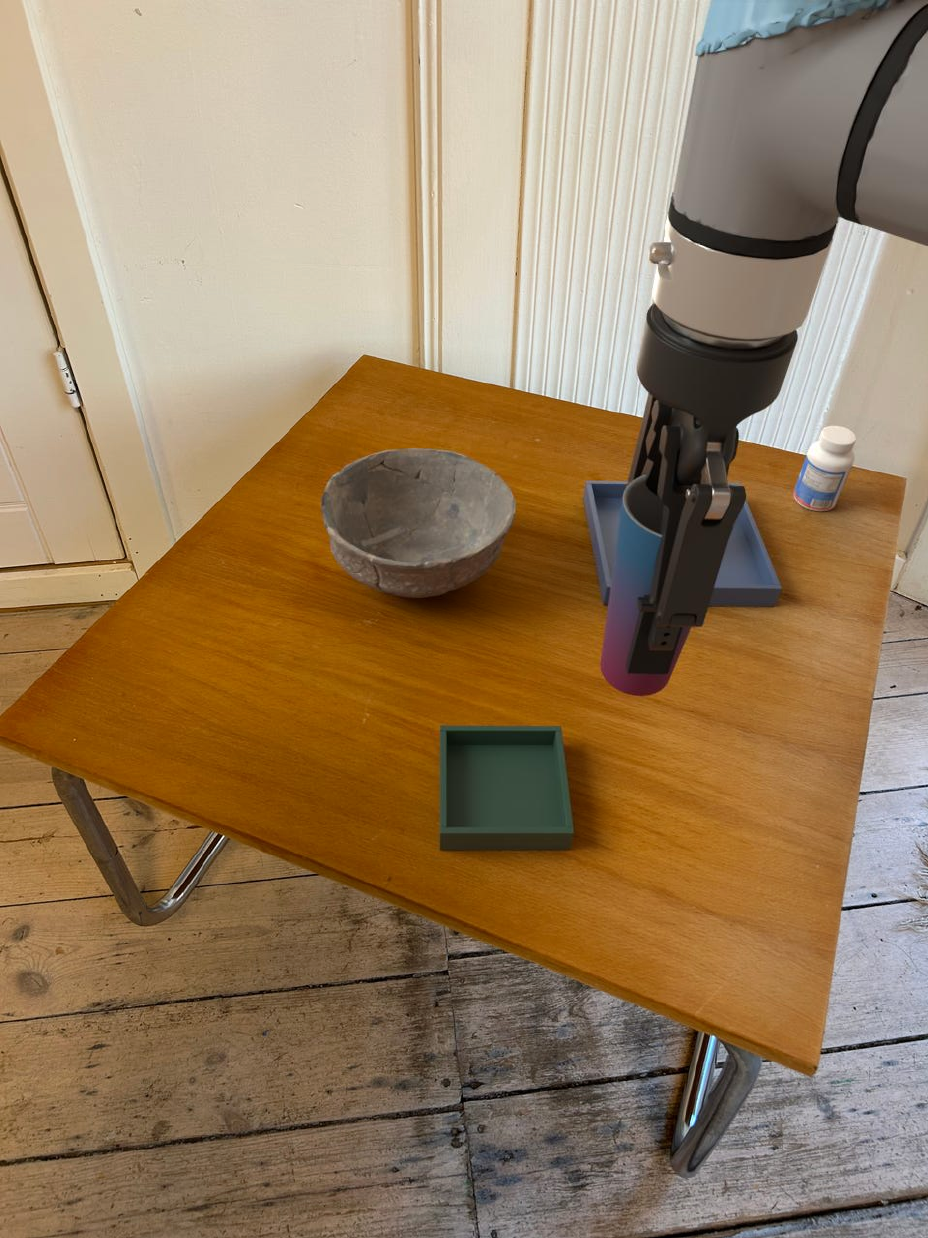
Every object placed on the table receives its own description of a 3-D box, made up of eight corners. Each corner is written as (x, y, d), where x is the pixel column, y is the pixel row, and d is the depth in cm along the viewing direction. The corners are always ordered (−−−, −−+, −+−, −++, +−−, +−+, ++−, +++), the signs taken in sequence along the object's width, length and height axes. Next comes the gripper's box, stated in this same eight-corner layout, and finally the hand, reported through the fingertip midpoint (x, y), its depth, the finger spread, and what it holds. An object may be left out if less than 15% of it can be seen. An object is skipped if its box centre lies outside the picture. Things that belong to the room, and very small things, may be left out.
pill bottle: (808, 481, 112) (833, 416, 105) (844, 501, 109) (872, 436, 103) (783, 497, 110) (807, 432, 103) (819, 518, 107) (846, 452, 100)
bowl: (536, 543, 102) (544, 474, 95) (463, 659, 89) (466, 589, 81) (382, 495, 108) (379, 426, 100) (291, 597, 94) (280, 526, 87)
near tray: (570, 850, 74) (574, 833, 72) (439, 850, 73) (439, 833, 71) (558, 743, 81) (561, 725, 79) (439, 743, 81) (439, 725, 79)
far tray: (775, 606, 95) (782, 588, 93) (603, 605, 95) (606, 586, 93) (733, 500, 109) (739, 482, 107) (583, 498, 108) (585, 480, 106)
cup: (696, 659, 63) (752, 495, 52) (661, 721, 59) (714, 557, 48) (611, 622, 65) (648, 458, 55) (571, 680, 61) (604, 514, 50)
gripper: (623, 233, 49) (571, 541, 66) (685, 417, 36) (601, 744, 53) (752, 238, 50) (668, 543, 66) (861, 421, 36) (723, 746, 53)
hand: (639, 632), depth 59 cm, fingers closed on cup, 6 cm apart
